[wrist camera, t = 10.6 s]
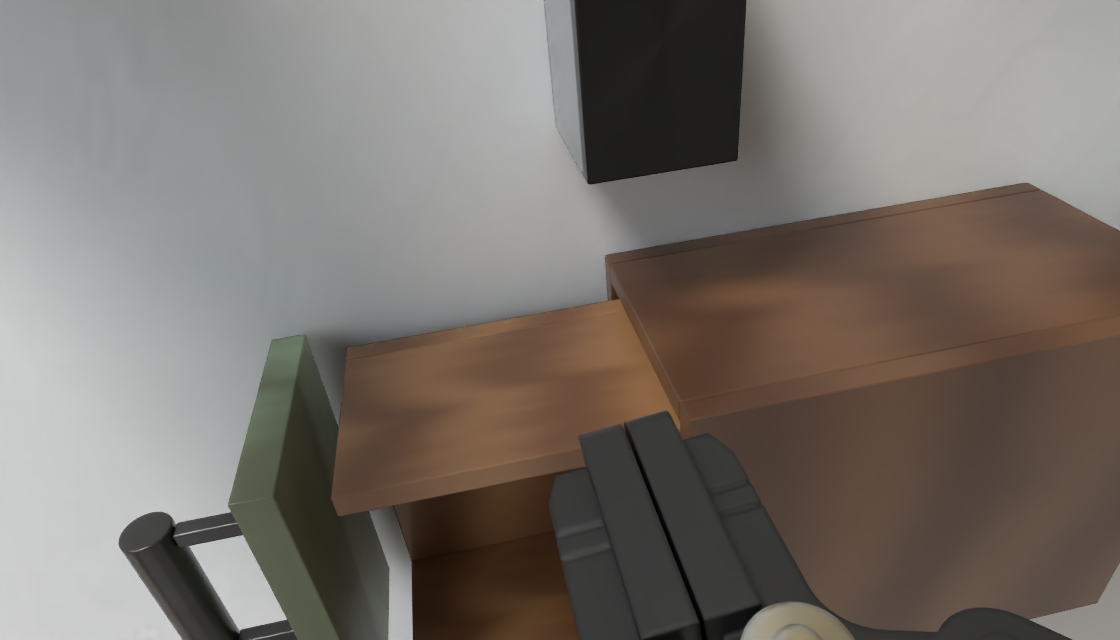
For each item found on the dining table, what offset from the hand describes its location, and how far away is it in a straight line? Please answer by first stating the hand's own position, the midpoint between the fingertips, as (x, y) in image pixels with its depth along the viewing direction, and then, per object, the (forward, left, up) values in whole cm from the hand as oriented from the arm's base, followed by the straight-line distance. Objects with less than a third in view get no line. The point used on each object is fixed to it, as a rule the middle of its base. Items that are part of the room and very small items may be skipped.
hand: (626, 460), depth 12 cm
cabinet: (+12, -12, -15) cm, 22 cm away
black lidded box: (+4, +4, -15) cm, 16 cm away
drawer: (-4, -12, -14) cm, 19 cm away
